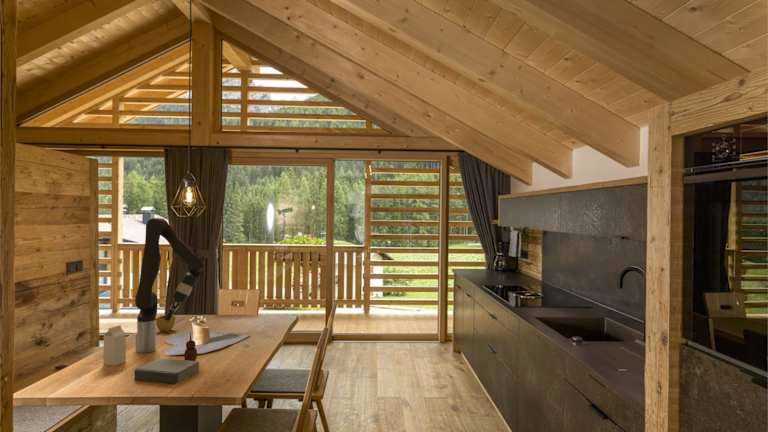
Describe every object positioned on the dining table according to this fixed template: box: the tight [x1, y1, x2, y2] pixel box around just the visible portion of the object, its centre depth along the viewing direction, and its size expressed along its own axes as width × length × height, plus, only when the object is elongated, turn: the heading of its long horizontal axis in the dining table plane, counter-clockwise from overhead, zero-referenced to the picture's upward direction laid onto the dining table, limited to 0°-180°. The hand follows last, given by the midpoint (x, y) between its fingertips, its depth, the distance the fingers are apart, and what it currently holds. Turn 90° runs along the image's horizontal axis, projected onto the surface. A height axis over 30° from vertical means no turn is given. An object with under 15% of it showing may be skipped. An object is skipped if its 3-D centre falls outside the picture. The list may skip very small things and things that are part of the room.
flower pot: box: [156, 314, 176, 333], centre depth 303 cm, size 9×9×9 cm
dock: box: [133, 357, 200, 385], centre depth 222 cm, size 22×17×5 cm
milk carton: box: [103, 324, 127, 367], centre depth 239 cm, size 7×7×19 cm
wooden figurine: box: [183, 332, 198, 361], centre depth 241 cm, size 7×6×15 cm
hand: (167, 319), depth 250 cm, fingers open, 8 cm apart
